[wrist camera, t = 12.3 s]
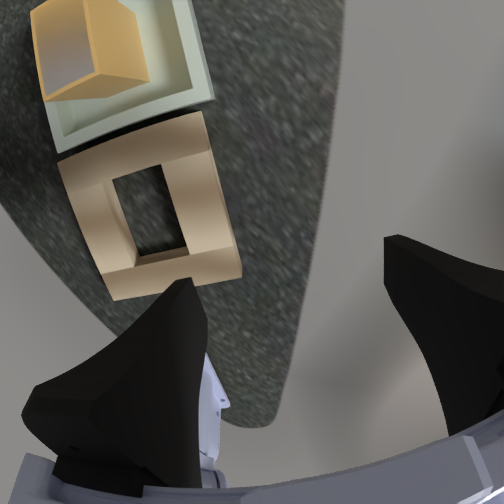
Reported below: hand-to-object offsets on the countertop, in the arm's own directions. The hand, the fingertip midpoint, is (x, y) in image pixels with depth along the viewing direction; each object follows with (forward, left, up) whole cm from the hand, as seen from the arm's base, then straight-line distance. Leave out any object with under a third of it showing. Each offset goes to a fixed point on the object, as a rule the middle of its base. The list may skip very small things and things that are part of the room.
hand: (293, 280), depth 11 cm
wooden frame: (+1, +8, -10) cm, 13 cm away
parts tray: (+12, +7, -10) cm, 17 cm away
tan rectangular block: (+12, +7, -9) cm, 17 cm away
